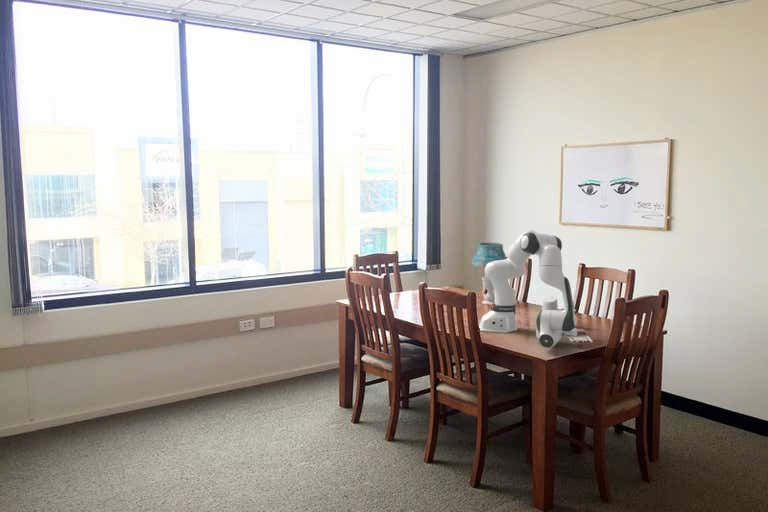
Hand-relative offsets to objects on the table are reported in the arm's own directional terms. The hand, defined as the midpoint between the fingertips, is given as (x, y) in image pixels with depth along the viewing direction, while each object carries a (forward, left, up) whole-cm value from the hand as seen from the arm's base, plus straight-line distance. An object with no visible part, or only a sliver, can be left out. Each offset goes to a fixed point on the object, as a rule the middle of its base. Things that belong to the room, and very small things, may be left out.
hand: (559, 327), depth 330 cm
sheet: (+11, +1, -6) cm, 13 cm away
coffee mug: (+11, +27, -7) cm, 30 cm away
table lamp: (-29, +90, -7) cm, 95 cm away
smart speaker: (+2, +41, -7) cm, 42 cm away
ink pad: (+12, +15, -6) cm, 20 cm away
